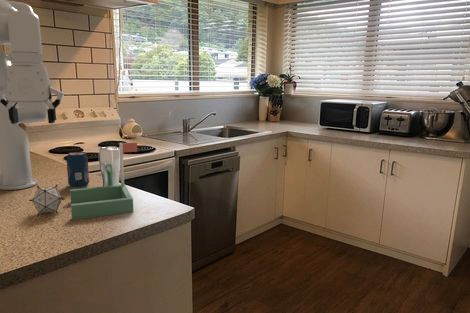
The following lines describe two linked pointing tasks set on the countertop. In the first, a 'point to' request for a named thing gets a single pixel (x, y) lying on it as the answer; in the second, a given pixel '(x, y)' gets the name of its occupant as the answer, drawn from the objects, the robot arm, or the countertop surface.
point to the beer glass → (109, 165)
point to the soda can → (77, 169)
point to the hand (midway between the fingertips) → (33, 123)
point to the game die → (47, 199)
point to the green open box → (104, 195)
